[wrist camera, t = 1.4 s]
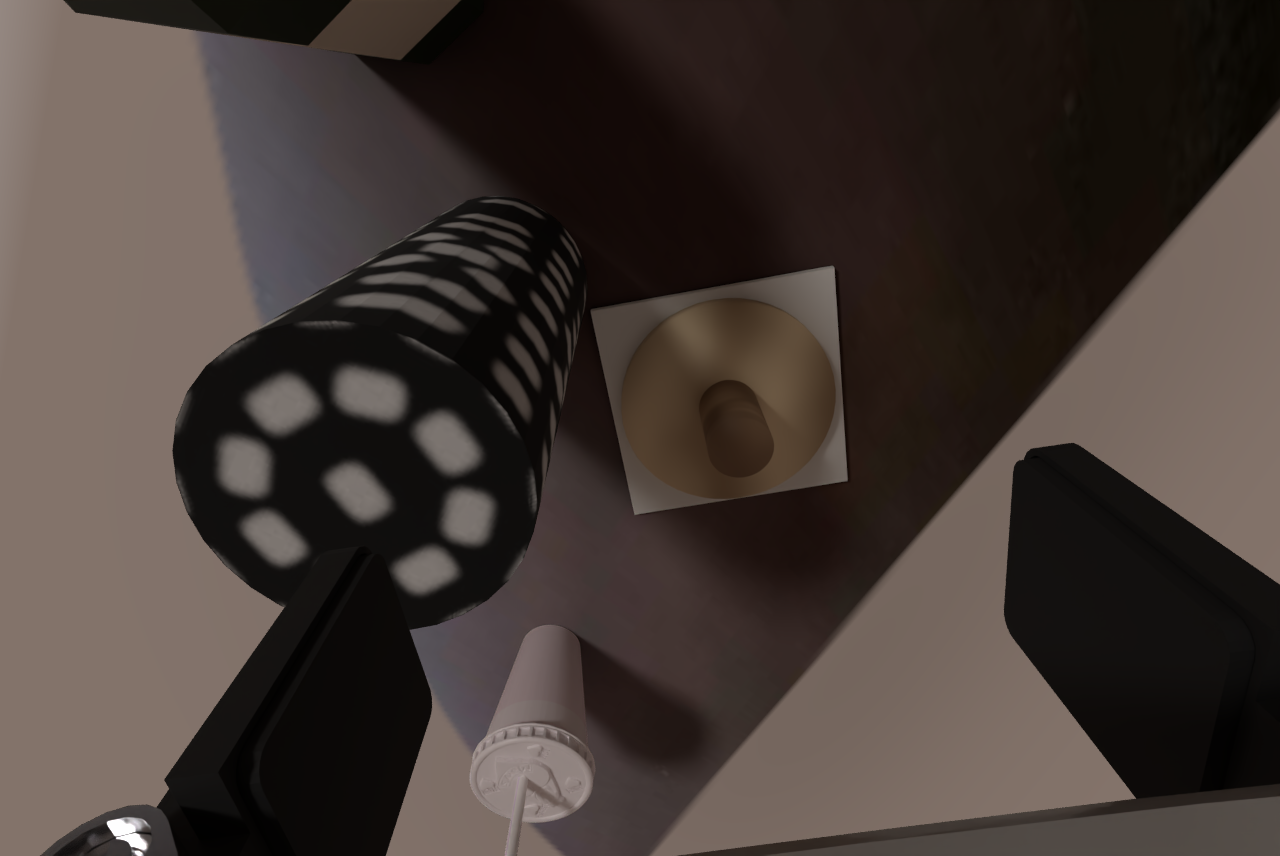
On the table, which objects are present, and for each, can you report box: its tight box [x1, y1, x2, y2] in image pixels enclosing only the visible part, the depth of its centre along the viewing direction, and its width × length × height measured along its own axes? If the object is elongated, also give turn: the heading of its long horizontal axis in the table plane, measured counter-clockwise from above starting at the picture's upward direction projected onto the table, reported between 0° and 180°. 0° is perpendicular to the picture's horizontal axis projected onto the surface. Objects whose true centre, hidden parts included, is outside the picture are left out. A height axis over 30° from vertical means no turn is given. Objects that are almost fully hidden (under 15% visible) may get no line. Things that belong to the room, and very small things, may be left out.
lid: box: [621, 298, 836, 499], centre depth 34 cm, size 11×11×6 cm
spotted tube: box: [173, 196, 587, 630], centre depth 25 cm, size 8×8×20 cm
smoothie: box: [470, 625, 595, 856], centre depth 38 cm, size 6×6×14 cm
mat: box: [590, 266, 848, 515], centre depth 37 cm, size 12×12×1 cm
